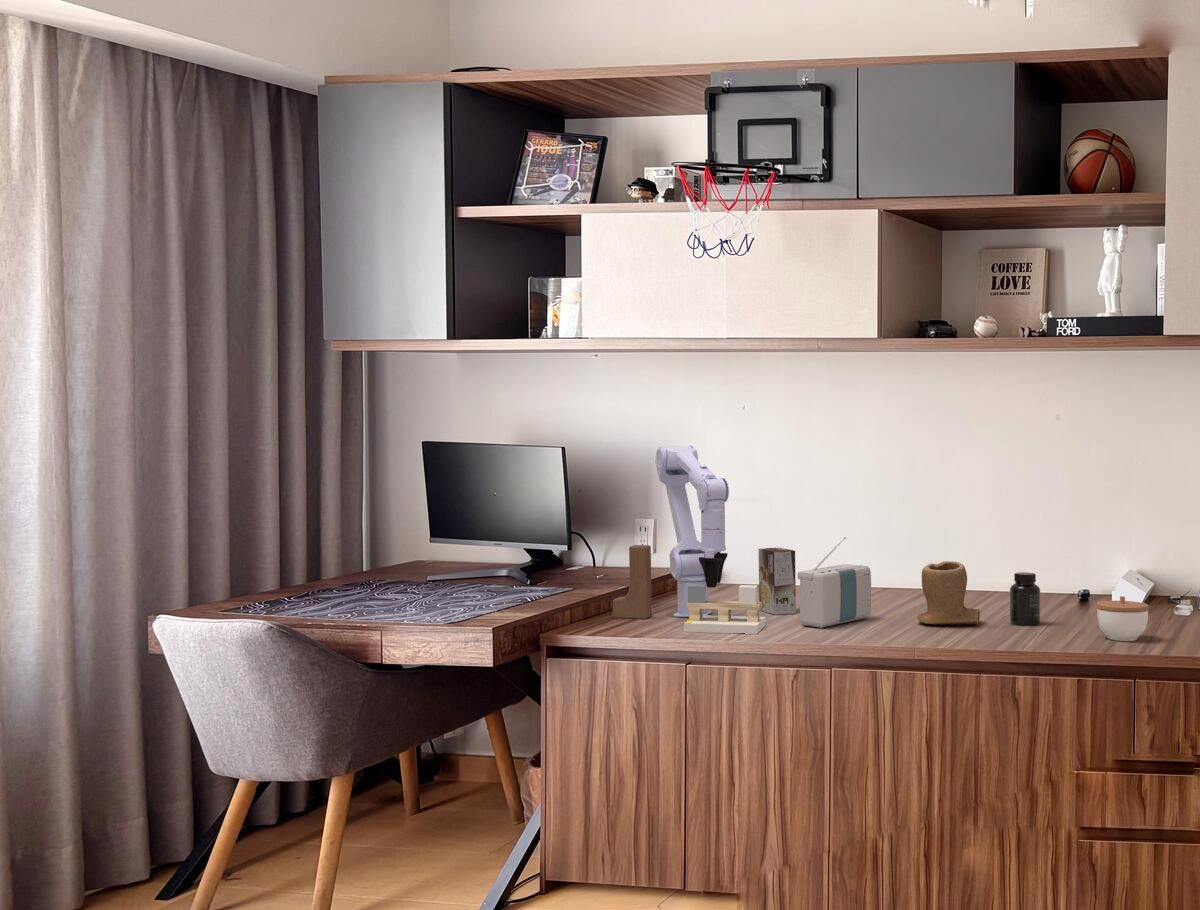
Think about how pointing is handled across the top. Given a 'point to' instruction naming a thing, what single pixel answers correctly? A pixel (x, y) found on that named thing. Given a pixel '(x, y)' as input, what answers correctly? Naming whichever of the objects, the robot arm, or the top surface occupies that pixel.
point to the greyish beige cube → (748, 594)
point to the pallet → (724, 610)
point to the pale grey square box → (696, 593)
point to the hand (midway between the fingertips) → (713, 584)
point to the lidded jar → (1122, 619)
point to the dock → (724, 625)
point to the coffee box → (777, 581)
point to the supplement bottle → (1025, 600)
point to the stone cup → (946, 595)
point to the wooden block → (636, 586)
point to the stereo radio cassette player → (834, 594)
